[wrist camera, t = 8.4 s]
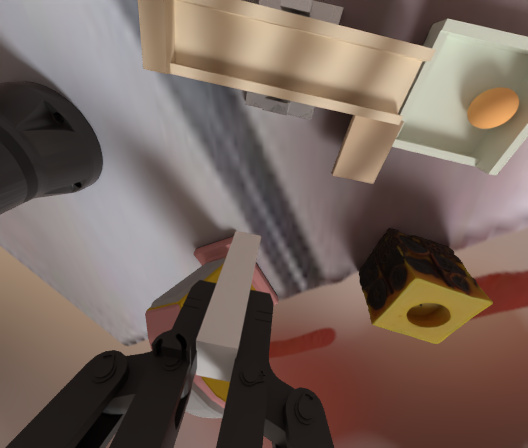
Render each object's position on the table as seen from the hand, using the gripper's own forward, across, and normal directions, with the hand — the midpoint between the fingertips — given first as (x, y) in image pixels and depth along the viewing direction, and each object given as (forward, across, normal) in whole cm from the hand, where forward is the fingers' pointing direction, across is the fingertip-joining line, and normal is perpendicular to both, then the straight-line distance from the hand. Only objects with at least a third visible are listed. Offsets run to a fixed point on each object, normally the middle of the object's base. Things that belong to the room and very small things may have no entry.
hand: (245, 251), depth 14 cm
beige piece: (+17, 0, +7) cm, 18 cm away
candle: (+20, +23, -13) cm, 33 cm away
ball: (+17, +20, +9) cm, 28 cm away
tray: (+20, +18, +9) cm, 28 cm away
